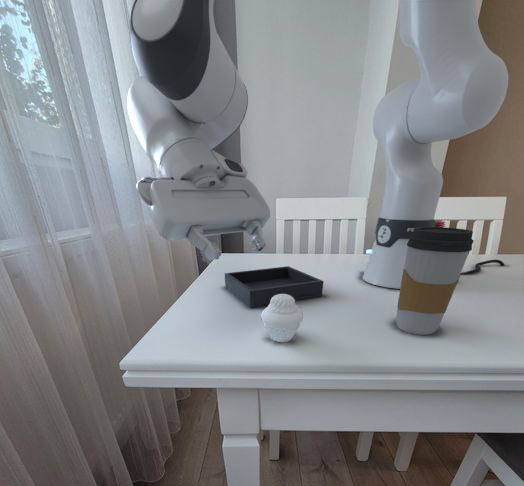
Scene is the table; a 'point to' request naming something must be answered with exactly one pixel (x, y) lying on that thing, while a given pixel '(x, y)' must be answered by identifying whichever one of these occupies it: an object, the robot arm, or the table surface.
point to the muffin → (282, 318)
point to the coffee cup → (430, 276)
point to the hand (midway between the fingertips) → (240, 252)
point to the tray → (272, 285)
